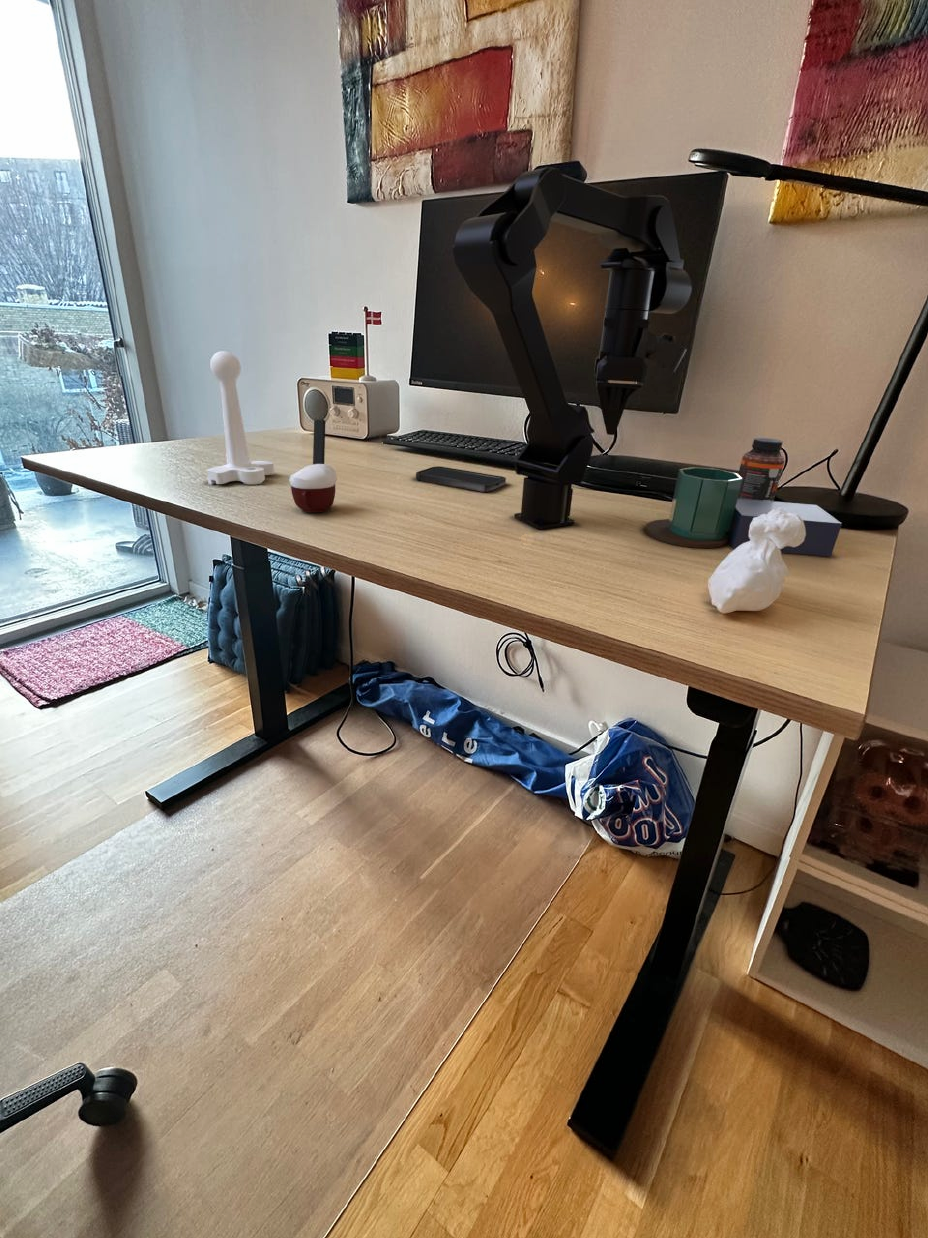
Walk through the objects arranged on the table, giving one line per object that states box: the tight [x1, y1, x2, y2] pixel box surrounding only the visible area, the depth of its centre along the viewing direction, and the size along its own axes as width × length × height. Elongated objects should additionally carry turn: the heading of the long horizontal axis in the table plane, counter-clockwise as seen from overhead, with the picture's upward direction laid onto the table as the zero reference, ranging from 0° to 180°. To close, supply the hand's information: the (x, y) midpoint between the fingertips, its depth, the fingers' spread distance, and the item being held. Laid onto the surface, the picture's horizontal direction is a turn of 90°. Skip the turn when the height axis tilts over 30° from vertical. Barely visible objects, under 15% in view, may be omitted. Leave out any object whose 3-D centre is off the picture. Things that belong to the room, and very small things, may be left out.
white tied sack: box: [707, 508, 806, 614], centre depth 58 cm, size 12×8×11 cm
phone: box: [415, 465, 507, 493], centre depth 103 cm, size 8×1×15 cm
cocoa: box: [288, 418, 338, 513], centre depth 83 cm, size 10×6×12 cm, turn 153°
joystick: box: [205, 350, 276, 486], centre depth 94 cm, size 11×8×20 cm
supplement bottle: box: [737, 437, 785, 502], centre depth 90 cm, size 6×6×11 cm
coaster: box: [645, 518, 729, 549], centre depth 81 cm, size 11×11×1 cm
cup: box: [668, 466, 743, 540], centre depth 79 cm, size 8×8×8 cm
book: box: [727, 499, 843, 558], centre depth 79 cm, size 12×9×4 cm
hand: (609, 429), depth 86 cm, fingers open, 9 cm apart
